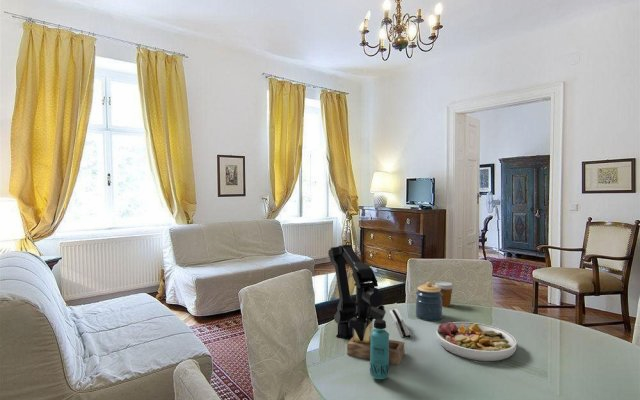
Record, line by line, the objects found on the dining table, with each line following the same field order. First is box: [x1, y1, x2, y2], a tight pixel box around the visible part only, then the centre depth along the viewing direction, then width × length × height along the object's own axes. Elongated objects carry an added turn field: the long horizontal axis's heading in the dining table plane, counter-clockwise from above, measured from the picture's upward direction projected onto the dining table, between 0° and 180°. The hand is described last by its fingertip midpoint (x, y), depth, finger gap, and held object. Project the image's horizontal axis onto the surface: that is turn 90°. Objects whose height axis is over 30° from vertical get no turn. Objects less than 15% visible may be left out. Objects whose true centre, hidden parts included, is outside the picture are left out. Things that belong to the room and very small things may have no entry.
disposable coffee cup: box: [434, 281, 454, 308], centre depth 202 cm, size 10×10×12 cm
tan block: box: [353, 319, 374, 345], centre depth 145 cm, size 6×4×9 cm
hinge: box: [388, 308, 413, 338], centre depth 168 cm, size 17×5×10 cm, turn 0°
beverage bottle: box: [369, 319, 390, 380], centre depth 125 cm, size 6×7×20 cm
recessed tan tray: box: [346, 335, 405, 365], centre depth 143 cm, size 20×10×4 cm, turn 66°
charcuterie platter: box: [435, 321, 518, 362], centre depth 150 cm, size 30×30×8 cm
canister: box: [415, 281, 443, 322], centre depth 184 cm, size 13×13×18 cm
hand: (363, 338), depth 145 cm, fingers closed on tan block, 4 cm apart
